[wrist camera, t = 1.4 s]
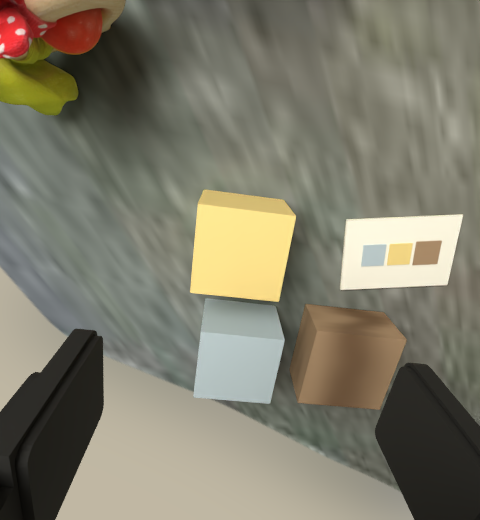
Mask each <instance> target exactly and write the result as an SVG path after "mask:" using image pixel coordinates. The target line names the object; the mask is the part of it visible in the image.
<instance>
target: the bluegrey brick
mask: <svg viewBox="0 0 480 520" xmlns="http://www.w3.org/2000/svg"><path fill="white" fill-rule="evenodd" d="M284 342H285V339H284V335H283V332H282V328H281V324H280V320H279V317H278V313H277V309H276V306H273V305H264V304H255V303H246V302H237V301H228V300H219V299H210V298H205V306H204V313H203V321H202V328H201V336H200V345H199V353H198V362H197V370H196V379H195V387H194V396H193V397H197V398H207V399H219V400H231V401H243V402H255V403H267V404H270V402H271V397H272V393H273V389H274V384H275V380H276V376H277V372H278V367H279V363H280V359H281V354H282V350H283V346H284Z"/></svg>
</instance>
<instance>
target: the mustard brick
mask: <svg viewBox="0 0 480 520" xmlns="http://www.w3.org/2000/svg"><path fill="white" fill-rule="evenodd" d="M295 219H296V215H295V214H294V213H293V211H292V210H291V209H290V207H289V206H288V205H287V204H286V202H285V201H284V200H281V199H273V198H265V197H258V196H250V195H242V194H235V193H227V192H219V191H211V190H203V193H202V195H201V198H200V200H199V203H198V209H197V221H196V232H195V243H194V255H193V266H192V277H191V289H190V293H198V294H208V295H218V296H227V297H237V298H246V299H256V300H266V301H275V302H279V298H280V293H281V288H282V283H283V278H284V273H285V269H286V264H287V259H288V254H289V249H290V244H291V239H292V234H293V229H294V224H295Z"/></svg>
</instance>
